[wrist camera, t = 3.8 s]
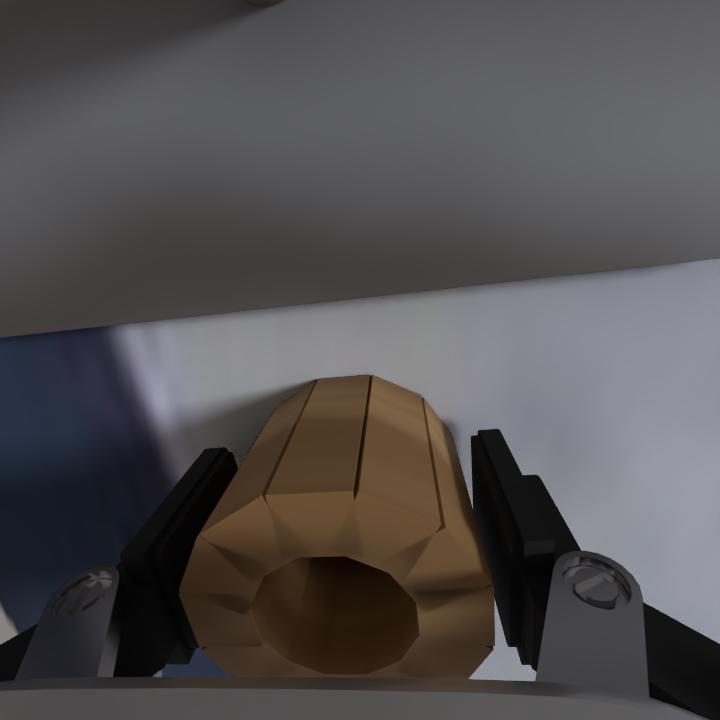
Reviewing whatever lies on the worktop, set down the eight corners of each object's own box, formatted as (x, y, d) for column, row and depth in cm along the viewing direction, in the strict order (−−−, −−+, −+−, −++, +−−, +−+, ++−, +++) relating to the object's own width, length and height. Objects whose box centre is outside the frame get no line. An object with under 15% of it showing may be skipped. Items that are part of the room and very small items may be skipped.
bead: (458, 535, 13) (495, 719, 8) (282, 541, 14) (225, 714, 9) (449, 367, 11) (492, 483, 6) (244, 385, 11) (142, 501, 7)
